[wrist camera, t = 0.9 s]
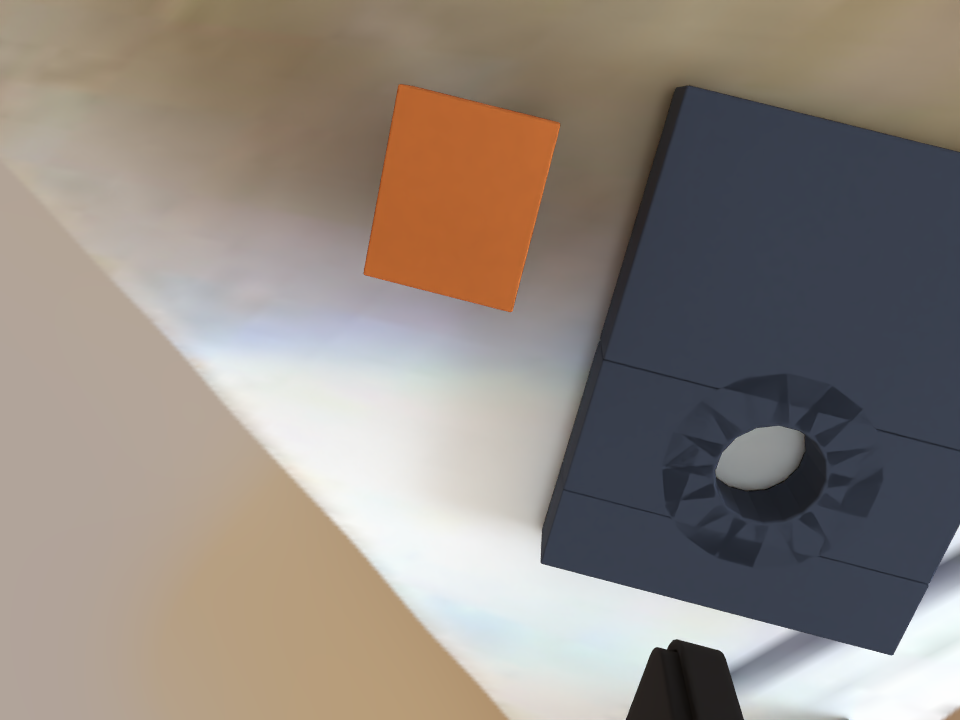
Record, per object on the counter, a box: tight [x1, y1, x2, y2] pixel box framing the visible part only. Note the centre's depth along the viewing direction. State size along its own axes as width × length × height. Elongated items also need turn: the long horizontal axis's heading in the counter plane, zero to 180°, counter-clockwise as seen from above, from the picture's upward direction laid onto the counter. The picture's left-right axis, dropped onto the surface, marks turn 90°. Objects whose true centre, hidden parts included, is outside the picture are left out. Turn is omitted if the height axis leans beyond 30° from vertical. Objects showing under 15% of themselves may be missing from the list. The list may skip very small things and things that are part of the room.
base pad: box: [541, 85, 960, 655], centre depth 28 cm, size 18×14×2 cm
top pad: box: [364, 84, 560, 312], centre depth 26 cm, size 6×5×4 cm
